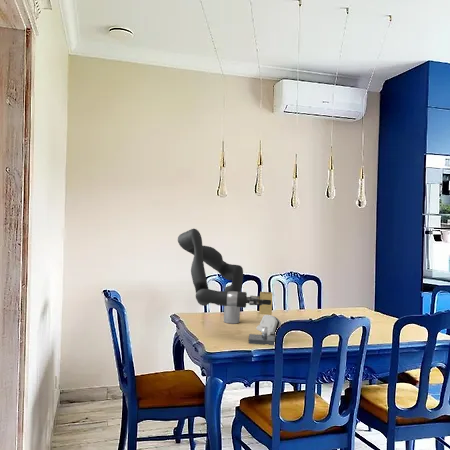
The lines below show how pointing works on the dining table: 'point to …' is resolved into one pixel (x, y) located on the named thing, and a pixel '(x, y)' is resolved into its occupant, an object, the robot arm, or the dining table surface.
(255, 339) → the shaft stand
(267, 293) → the tan rectangular block
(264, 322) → the hinge
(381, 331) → the dining table surface
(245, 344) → the dining table surface
